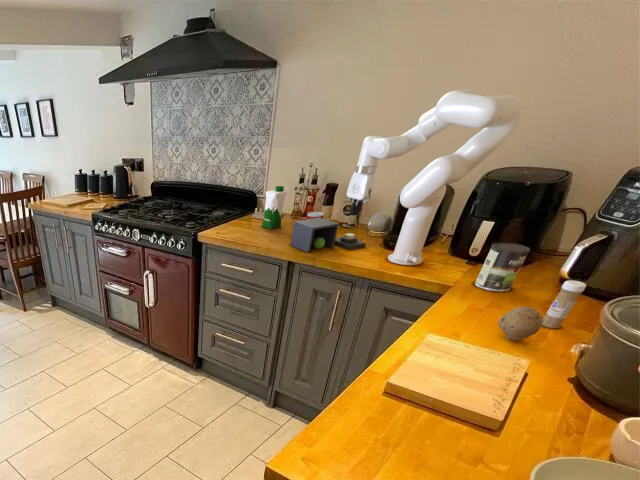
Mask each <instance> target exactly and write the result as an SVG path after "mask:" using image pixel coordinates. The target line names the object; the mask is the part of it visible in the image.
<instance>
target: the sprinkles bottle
mask: <svg viewBox="0 0 640 480" xmlns="http://www.w3.org/2000/svg"><path fill="white" fill-rule="evenodd" d="M586 287H587V284H586V283H584V282H582V281H579V280H572V279H570V280H566V281H564V282H563V284H562V286H561V289H560V291H559V292H558V294H557V296H556V297H555V298H554V301H553V302H552V304H551V305H550V306H549V308H548V310H547V312H546V314H545V315H544V317H543V323H542V326H544V327H546V328H550V329H560V328H561V327H562V324H563V322H564V321H565V320H566V319H567V317H568V315H569V314H570V311H571V310H572V309H573V307H574V305H575V304H576V302H577V300H578V299H579V298H580V296H581V294H582V293H583V292H584V291H585V289H586Z"/></svg>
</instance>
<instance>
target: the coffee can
mask: <svg viewBox="0 0 640 480" xmlns="http://www.w3.org/2000/svg"><path fill="white" fill-rule="evenodd" d="M490 246H491V247H490V249H489V252H488V254H487V256H486V258H485V260H484V263H483V265H482V267H481V269H480V272H479V273H478V276H477V278H476V279H475V282H474V285H475V286H476V287H477V288H479V289H482V290H485V291H491V292H497V293H498V292H509V291H511V287H512V285H513V284H514V282H515V279H516V278H517V276H518V274H519V272H520V270H521V268H522V266H523V265H524V262H525V260H526V259H527V257H528V255H529V253H530V252H531V248H530V247H528V246H526V245H523V244H518V243H511V242H496V243H492V244H491V245H490Z"/></svg>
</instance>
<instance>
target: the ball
mask: <svg viewBox="0 0 640 480" xmlns="http://www.w3.org/2000/svg"><path fill="white" fill-rule="evenodd" d="M312 245H313V248H315V249H317V250H320V249H322V248H324V247H325V246H324V245H325V240H324V239H323V238H320V237H319V238H316V239H315V240H314V242H312Z"/></svg>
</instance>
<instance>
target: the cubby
mask: <svg viewBox="0 0 640 480" xmlns="http://www.w3.org/2000/svg"><path fill="white" fill-rule="evenodd" d="M339 224H340V223H338V222H335V221H332V220H328V219H325V218H313V219H307V220H306V219H301V220H295V221H293V227H292V234H291V240H290V244H289V245H290V246H291V247H294V248H296V249H298V250H301V251H302V252H306V253H310V252H311V248H312V244H313V242H314V240H315V239H316V238H319V237H320V238H323V239H324V240H325V245H324V246H323V247H327V248H330V249H334V247H335V244H334V243H335V239H336V238H337V234H338V229H339Z"/></svg>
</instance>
